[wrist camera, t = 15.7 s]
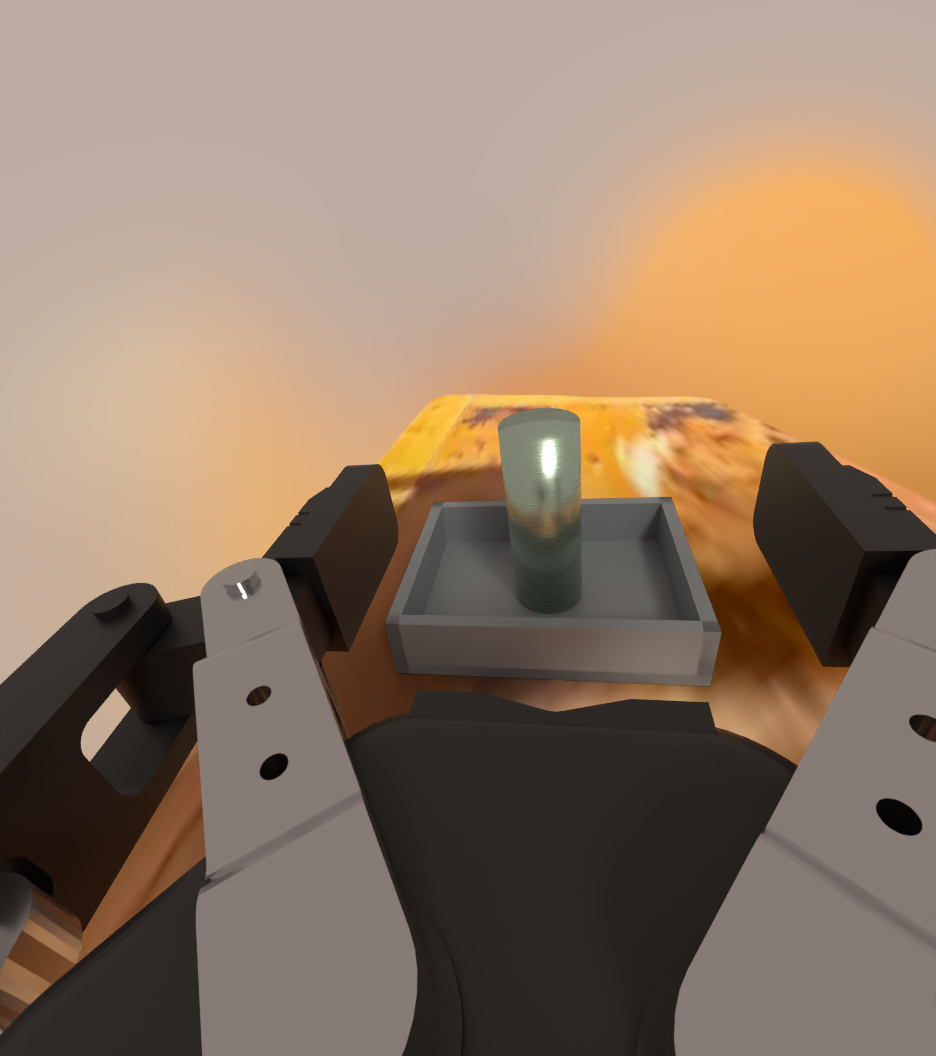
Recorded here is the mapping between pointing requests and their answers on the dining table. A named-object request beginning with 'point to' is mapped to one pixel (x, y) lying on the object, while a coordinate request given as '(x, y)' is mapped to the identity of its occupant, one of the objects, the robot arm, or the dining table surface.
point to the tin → (544, 506)
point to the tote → (568, 637)
